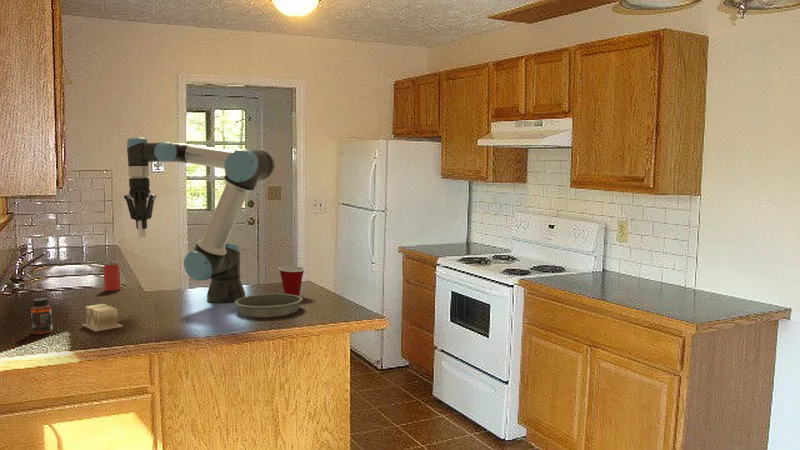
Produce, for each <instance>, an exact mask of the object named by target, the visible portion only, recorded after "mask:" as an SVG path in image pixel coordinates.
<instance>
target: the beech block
mask: <svg viewBox="0 0 800 450" xmlns="http://www.w3.org/2000/svg"><path fill="white" fill-rule="evenodd" d="M84 308H85V309H84V310H85V322H86V323H85V324H89V325H91V326H93V327H95V328H98V329H100V330H101V329H107V328H112V327H118V324H119V314H118V308H116V307H113V306H111V305H108V304H105V303H100V304H99V303H98V304H91V305H85V307H84ZM118 328H119V327H118ZM112 329H113V328H112ZM107 330H108V329H107ZM101 331H102V330H101Z"/></svg>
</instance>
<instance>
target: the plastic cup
mask: <svg viewBox="0 0 800 450" xmlns="http://www.w3.org/2000/svg"><path fill="white" fill-rule="evenodd" d="M278 270H279V274H280V278H281V283H282V289H283V294H291V295H297V296H300V295H301V294H300V293H301V288H302V282H303V281H302V280H303V276H304V273H305V271H306V268H305V267H302V266H295V265H291V266H289V265H287V266H286V265H283V266H279V267H278Z"/></svg>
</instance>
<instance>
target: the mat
mask: <svg viewBox="0 0 800 450" xmlns="http://www.w3.org/2000/svg"><path fill="white" fill-rule="evenodd" d="M82 326H83V327H85V328H87V329H90V330H92V331H94V332H100V331H107V330H111V329H117V328H118V329H119V328H123V327H124V325H122V324H120V323H118V327H112V328H107V329H101V330H100V329H98V328H95V327H93V326H91V325H89V324H87V323H84V324H82Z"/></svg>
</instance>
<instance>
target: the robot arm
mask: <svg viewBox="0 0 800 450" xmlns="http://www.w3.org/2000/svg"><path fill="white" fill-rule="evenodd" d="M126 152H127V163H128V164H127V169H128V170H127V171H128V173H127V174H128V177H129V178H128V185H129V186H128V187H129V190H128V191H129V192H128V194H125V195H124V196H123V199H124V201H126V205H127V208H128V212H129V216H130V219H131V220H134V221H135V227H136V229H137V233H138V235H137V236H138V238H146V237H147V236H146V235H147V234H146V233H147V231H146V230H147V228H148V220H150V219H152V216H153V210H154V209H153V208H154V204H155V200H156V198H157V195H156V194H153V193H151V190H150V186H151V184H150V178H149V176H150V170H149V163H170V162H171V163H173V162H174V163H175V162H176V163H183V164H184V163H185V164H192V165H198V166H205V167H210V168H219V169H224V170H225V171H224V173H225V174H224V177H223V178H224V181H225V187H224V188H223V191H222V193H221V196H220V198H219V200H218V202H217V205H216V208H215V210H214V213H213V215H212V217H211V219H210V221H209V224H208V227H207V229H206V231H205V234H204V235H203V238H202V239H198V240H197V242H196V245H195V247H194V249H193V250H191V251H189V252H188V253H187V254H186V255H185V257H184V259H183V268H184V269H185V272H186V274H187V275H188V277H190V279H192V280H195V281H198V282H199V281H208V280H210V282H209V283H210V284H209V287H208V291H207V293H206V300H207V302H210V303H215V304H216V303H220V304H221V303H233V302H234V303H235V301H236V300H238V299H240V298H243V297H247V296H246V291H245V288H244V285H243V283H242V279H241V251H240V246H239V244H238V243H233V242H231V243H230V242H229V243H228V241H229V237H230V236H231V233H232V231H233V228H234V226H235V224H236V221H237V220H238V217H239V216H240V215H239V214H240V212H241V210H242V208H243V206H244V203H245V201H246V198H247V196H248V194H249V193H251V192H253V191H255V189H256V186H257V184H258V181H263V180H266V179H268V178H270V176H272V175H273V173H274V170H275V160H274V158H273V156H272V155H271V154H270V153H269V152H267V151H266V150H262V149H248V148H240V149H235V150H230V149H222V148H215V147H210V146H203V145H202V146H201V145H196V144H189V143H185V142H180V143H179V142H169V141H160V142H159V141H158V142H148V139H147V138H145V137H130V138H127V141H126Z"/></svg>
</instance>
